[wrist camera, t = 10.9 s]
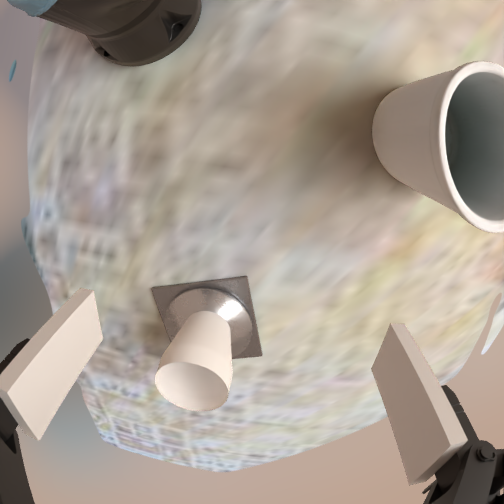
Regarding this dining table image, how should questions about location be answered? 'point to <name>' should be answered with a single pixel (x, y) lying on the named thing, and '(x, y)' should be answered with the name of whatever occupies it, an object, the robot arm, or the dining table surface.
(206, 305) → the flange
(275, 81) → the dining table surface
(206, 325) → the cup
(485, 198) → the utensil holder
